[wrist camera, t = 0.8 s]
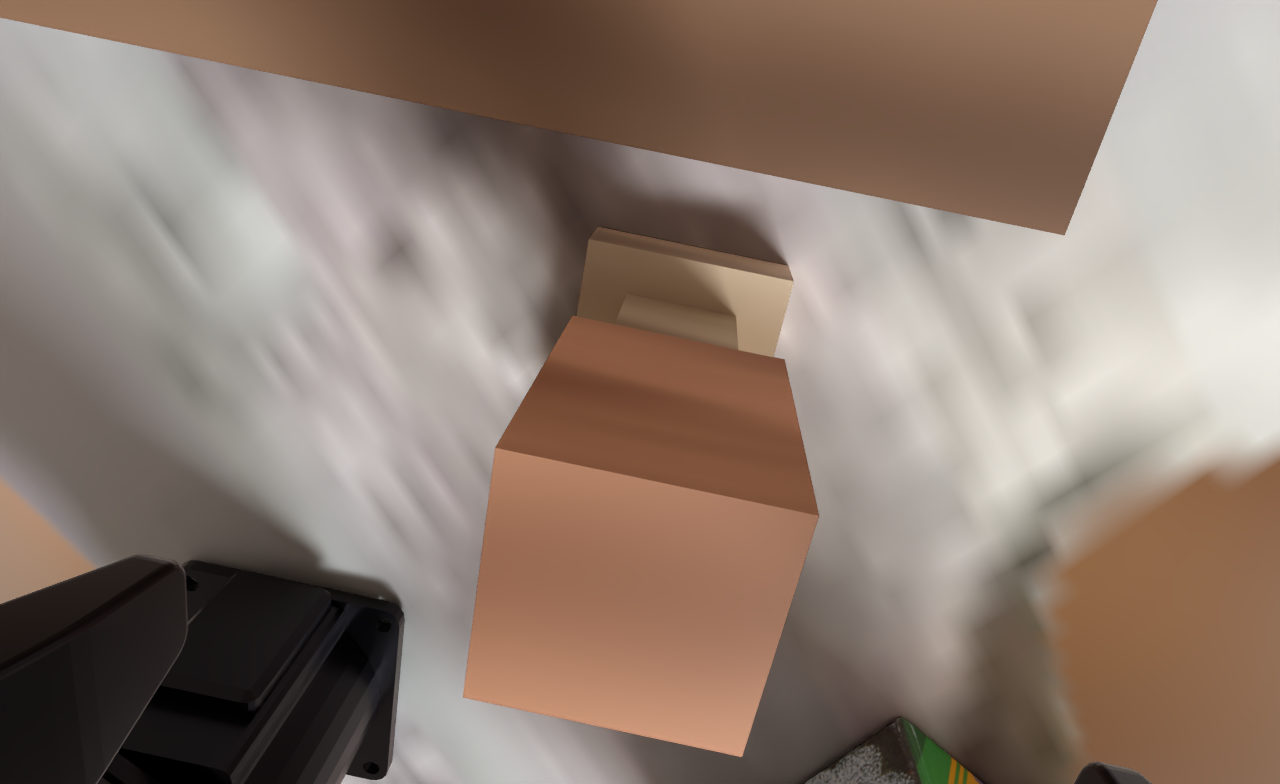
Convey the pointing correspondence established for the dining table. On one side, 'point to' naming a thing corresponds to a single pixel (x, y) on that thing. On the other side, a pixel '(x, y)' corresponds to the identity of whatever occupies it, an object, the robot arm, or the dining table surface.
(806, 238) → the dining table surface
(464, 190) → the dining table surface
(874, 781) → the chalk box
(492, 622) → the copper peg
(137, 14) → the keyhole plate
